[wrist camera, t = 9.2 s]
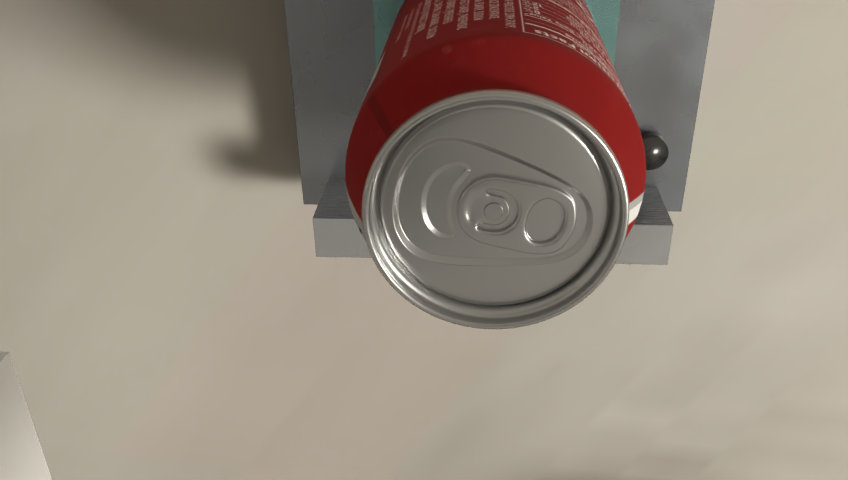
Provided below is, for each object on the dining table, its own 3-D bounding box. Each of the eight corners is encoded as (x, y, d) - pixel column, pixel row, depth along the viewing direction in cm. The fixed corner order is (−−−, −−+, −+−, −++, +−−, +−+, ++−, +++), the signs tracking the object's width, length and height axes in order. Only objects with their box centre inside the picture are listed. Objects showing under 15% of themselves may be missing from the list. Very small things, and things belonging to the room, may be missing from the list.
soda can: (411, -76, 25) (357, 27, 15) (621, -30, 25) (712, 102, 15) (376, 123, 29) (312, 319, 18) (562, 162, 29) (603, 378, 18)
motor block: (317, 187, 33) (287, 255, 28) (285, -170, 27) (241, -159, 22) (666, 193, 32) (697, 265, 27) (720, -175, 26) (773, -166, 21)
